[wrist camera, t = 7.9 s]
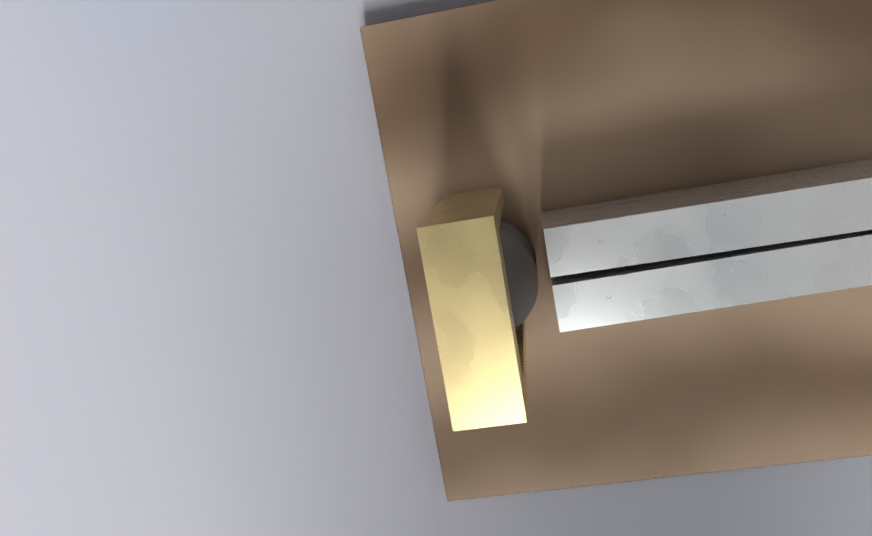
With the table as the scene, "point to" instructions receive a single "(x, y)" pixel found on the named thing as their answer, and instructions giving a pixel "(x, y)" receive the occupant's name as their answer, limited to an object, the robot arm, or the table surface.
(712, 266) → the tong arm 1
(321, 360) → the table surface
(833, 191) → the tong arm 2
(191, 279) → the table surface
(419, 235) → the brushed brass block
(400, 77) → the board
